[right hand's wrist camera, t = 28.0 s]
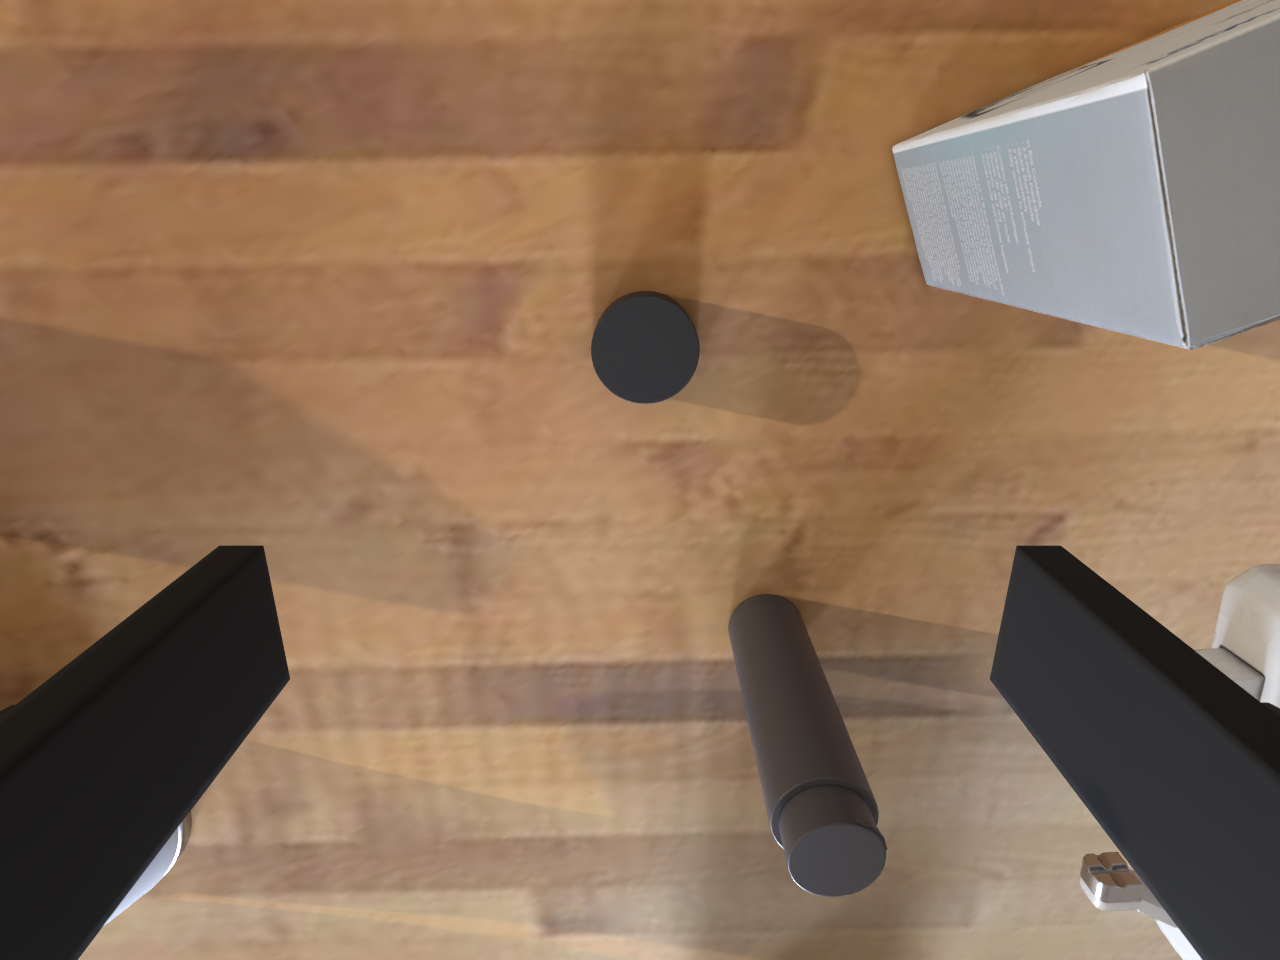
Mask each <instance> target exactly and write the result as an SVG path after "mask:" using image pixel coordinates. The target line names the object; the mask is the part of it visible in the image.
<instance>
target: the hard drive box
mask: <svg viewBox="0 0 1280 960" xmlns="http://www.w3.org/2000/svg"><path fill="white" fill-rule="evenodd" d="M892 150H893V155H894V159H895V164H896V168H897V172H898V176H899V180H900V184H901V188H902V192H903V196H904V200H905V204H906V208H907V212H908V216H909V220H910V223H911V227H912V231H913V235H914V239H915V243H916V247H917V251H918V256H919V259H920V263H921V266H922V270H923V273H924V277H925V280H926V284H927V285H929V286H934V287H937V288H941V289H945V290H949V291H953V292H958V293H962V294H966V295H969V296H973V297H978V298H981V299H985V300H989V301H994V302H998V303H1002V304H1006V305H1010V306H1014V307H1017V308H1021V309H1025V310H1030V311H1034V312H1038V313H1042V314H1047V315H1051V316H1055V317H1059V318H1063V319H1067V320H1071V321H1075V322H1078V323H1082V324H1086V325H1090V326H1095V327H1099V328H1103V329H1107V330H1111V331H1115V332H1120V333H1124V334H1128V335H1132V336H1136V337H1140V338H1144V339H1148V340H1152V341H1156V342H1160V343H1164V344H1168V345H1172V346H1176V347H1181V348H1185V349H1189V350H1193V349H1196V348H1199V347H1203V346H1206V345H1209V344H1212V343H1215V342H1218V341H1221V340H1224V339H1227V338H1230V337H1232V336H1235V335H1238V334H1241V333H1244V332H1246V331H1249V330H1252V329H1255V328H1257V327H1260V326H1263V325H1266V324H1268V323H1271V322H1274V321H1277V320H1279V319H1280V0H1238V1H1235V2H1233V3H1230V4H1227V5H1225V6H1222V7H1220V8H1217V9H1215V10H1212V11H1210V12H1207V13H1205V14H1202V15H1199V16H1197V17H1194V18H1192V19H1189V20H1187V21H1185V22H1182V23H1180V24H1178V25H1175V26H1173V27H1170V28H1168V29H1166V30H1163V31H1161V32H1159V33H1156V34H1154V35H1152V36H1149V37H1147V38H1144V39H1142V40H1140V41H1137V42H1135V43H1133V44H1130V45H1128V46H1126V47H1123V48H1121V49H1119V50H1116V51H1114V52H1112V53H1109V54H1107V55H1105V56H1102V57H1100V58H1098V59H1095V60H1093V61H1090V62H1088V63H1086V64H1083V65H1081V66H1079V67H1076V68H1074V69H1072V70H1069V71H1067V72H1064V73H1062V74H1060V75H1057V76H1055V77H1053V78H1050V79H1048V80H1046V81H1043V82H1041V83H1038V84H1036V85H1034V86H1031V87H1029V88H1027V89H1024V90H1022V91H1019V92H1017V93H1015V94H1013V95H1010V96H1008V97H1006V98H1003V99H1001V100H998V101H996V102H994V103H991V104H989V105H987V106H984V107H982V108H979V109H977V110H975V111H972V112H970V113H968V114H965V115H963V116H960V117H958V118H956V119H954V120H951V121H949V122H947V123H944V124H942V125H940V126H937V127H935V128H933V129H931V130H928V131H926V132H924V133H921V134H919V135H917V136H914V137H912V138H910V139H907V140H905V141H903V142H901V143H898V144H896V145H894V146H893V148H892Z"/></svg>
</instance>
